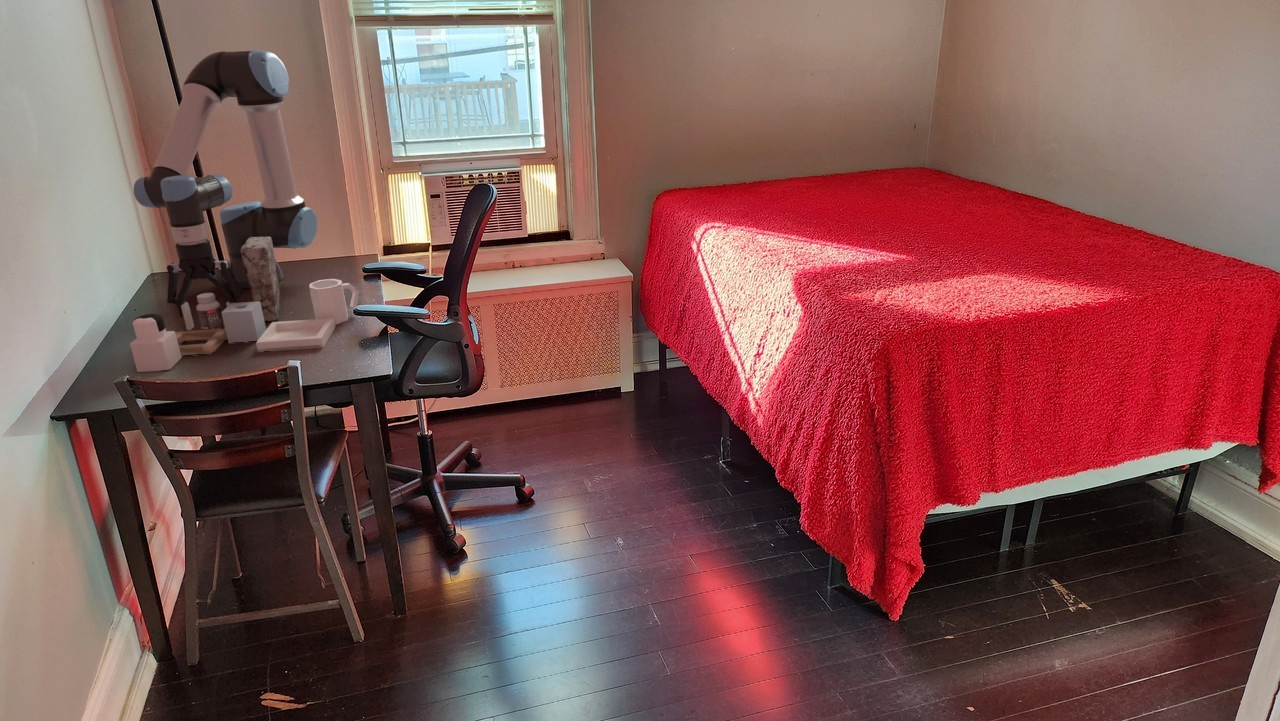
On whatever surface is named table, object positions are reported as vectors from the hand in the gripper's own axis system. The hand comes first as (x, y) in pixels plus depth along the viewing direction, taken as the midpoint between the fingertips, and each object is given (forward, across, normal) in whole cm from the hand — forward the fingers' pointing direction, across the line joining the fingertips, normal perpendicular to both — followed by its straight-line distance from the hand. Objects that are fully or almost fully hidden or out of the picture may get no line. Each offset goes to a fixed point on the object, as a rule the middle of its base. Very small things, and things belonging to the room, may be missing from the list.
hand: (213, 326), depth 211 cm
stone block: (+1, +11, +11) cm, 16 cm away
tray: (+1, +23, -10) cm, 25 cm away
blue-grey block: (+1, +10, -6) cm, 12 cm away
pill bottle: (+2, 0, 0) cm, 2 cm away
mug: (+2, +30, +4) cm, 30 cm away
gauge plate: (+1, -1, -10) cm, 10 cm away
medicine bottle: (+2, -5, -21) cm, 22 cm away
